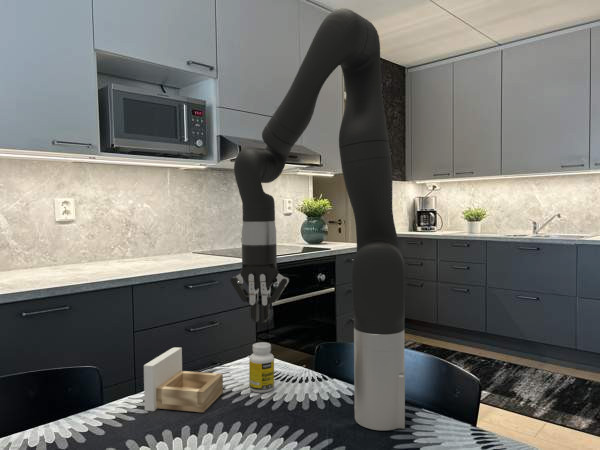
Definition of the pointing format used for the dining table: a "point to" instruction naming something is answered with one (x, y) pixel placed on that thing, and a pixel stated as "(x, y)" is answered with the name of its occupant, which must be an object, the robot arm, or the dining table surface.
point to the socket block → (189, 391)
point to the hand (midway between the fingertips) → (260, 321)
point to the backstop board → (160, 374)
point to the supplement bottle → (261, 368)
